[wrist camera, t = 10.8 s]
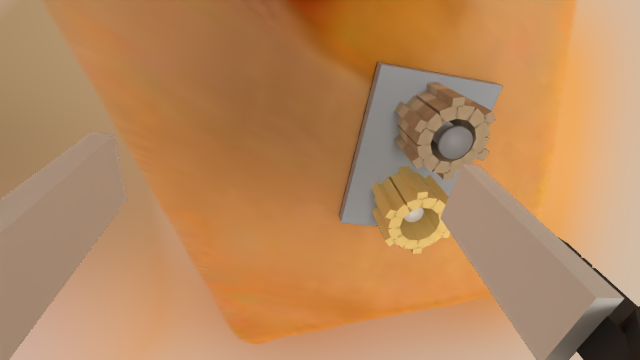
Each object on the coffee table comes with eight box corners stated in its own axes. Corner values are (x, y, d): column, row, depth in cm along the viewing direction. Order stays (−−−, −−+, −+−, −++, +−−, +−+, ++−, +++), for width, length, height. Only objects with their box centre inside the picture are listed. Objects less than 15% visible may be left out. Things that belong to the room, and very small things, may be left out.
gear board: (377, 62, 34) (402, 78, 27) (494, 82, 36) (545, 102, 29) (339, 216, 43) (350, 258, 36) (434, 224, 46) (462, 265, 39)
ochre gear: (379, 162, 38) (394, 187, 33) (444, 170, 40) (469, 196, 34) (362, 220, 42) (373, 251, 37) (422, 225, 44) (441, 256, 38)
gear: (404, 76, 33) (427, 90, 28) (477, 88, 35) (511, 104, 30) (382, 150, 37) (399, 175, 32) (449, 158, 39) (475, 183, 34)
